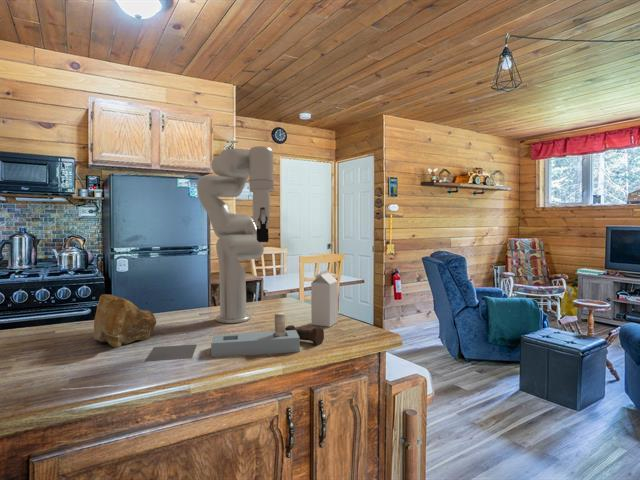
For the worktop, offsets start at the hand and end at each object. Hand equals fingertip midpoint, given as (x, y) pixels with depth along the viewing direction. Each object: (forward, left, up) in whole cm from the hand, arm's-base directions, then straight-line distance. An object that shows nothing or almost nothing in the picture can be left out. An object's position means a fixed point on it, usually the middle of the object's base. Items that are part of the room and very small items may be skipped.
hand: (262, 241), depth 127 cm
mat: (+12, -26, -30) cm, 42 cm away
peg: (+14, +4, -30) cm, 34 cm away
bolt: (+8, +10, -31) cm, 33 cm away
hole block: (+14, -3, -30) cm, 34 cm away
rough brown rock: (-4, -42, -31) cm, 52 cm away
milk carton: (-10, +22, -31) cm, 39 cm away
